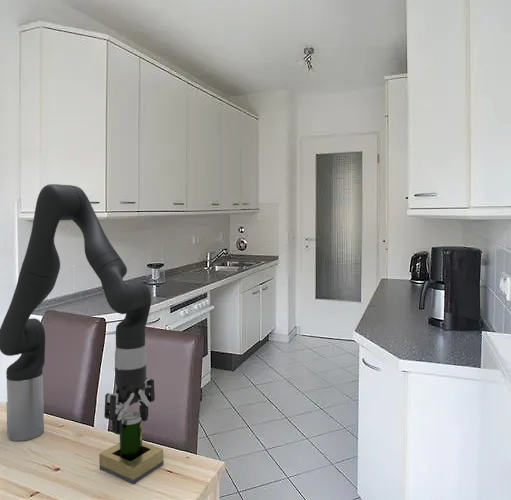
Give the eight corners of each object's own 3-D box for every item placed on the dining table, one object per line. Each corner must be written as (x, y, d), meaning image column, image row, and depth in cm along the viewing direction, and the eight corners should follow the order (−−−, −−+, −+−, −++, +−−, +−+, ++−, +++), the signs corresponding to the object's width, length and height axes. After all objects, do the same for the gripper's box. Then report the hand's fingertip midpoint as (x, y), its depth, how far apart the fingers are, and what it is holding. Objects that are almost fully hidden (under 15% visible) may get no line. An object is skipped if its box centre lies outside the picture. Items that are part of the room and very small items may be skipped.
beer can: (123, 470, 108) (122, 422, 107) (117, 460, 112) (116, 414, 111) (145, 464, 110) (144, 417, 110) (138, 454, 115) (137, 409, 114)
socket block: (99, 469, 110) (99, 453, 110) (130, 451, 118) (130, 437, 118) (133, 484, 104) (133, 467, 103) (163, 464, 112) (163, 449, 112)
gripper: (141, 353, 117) (141, 412, 118) (96, 368, 105) (97, 434, 106) (162, 358, 113) (162, 419, 115) (118, 374, 101) (118, 442, 102)
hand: (130, 426), depth 110 cm, fingers open, 8 cm apart
